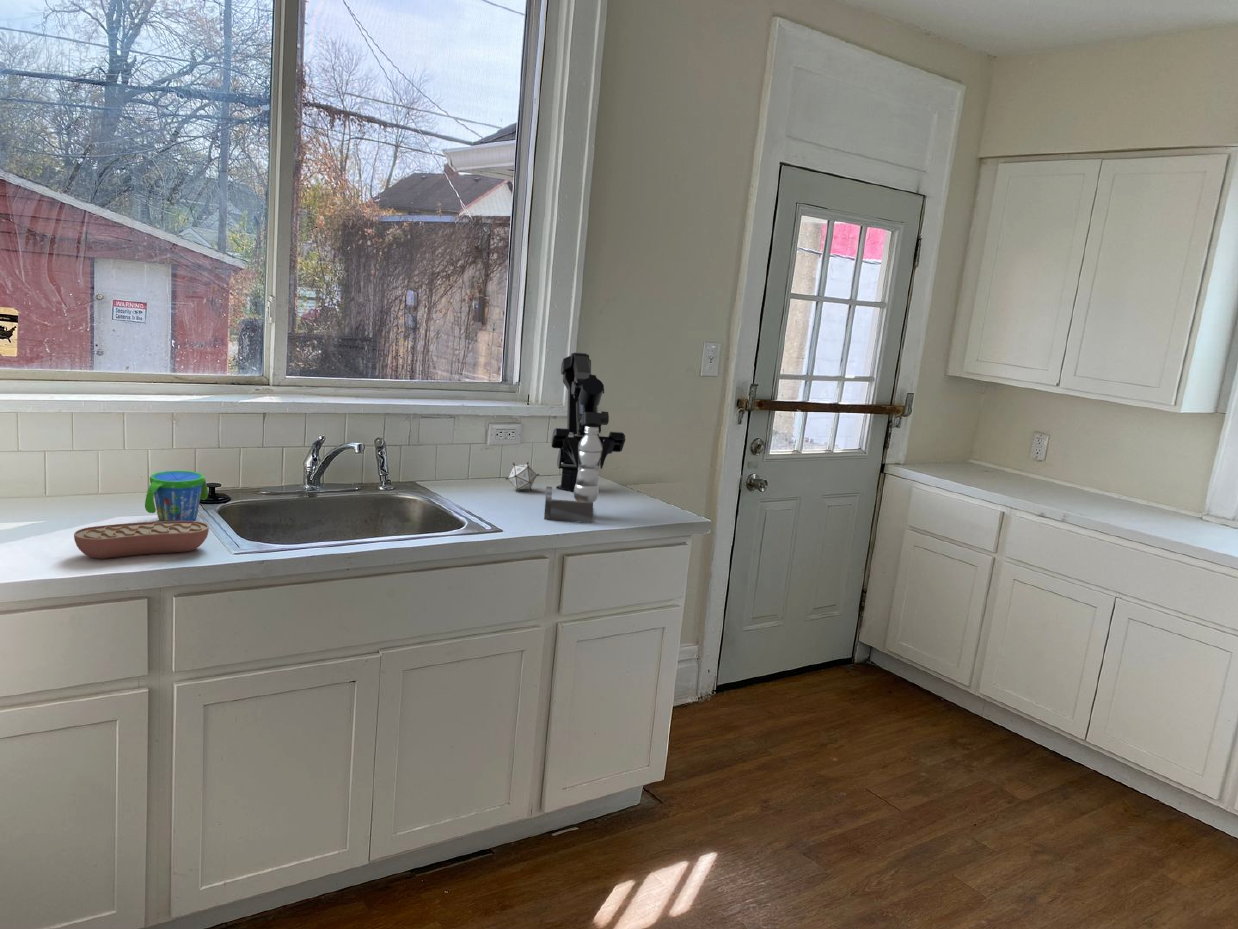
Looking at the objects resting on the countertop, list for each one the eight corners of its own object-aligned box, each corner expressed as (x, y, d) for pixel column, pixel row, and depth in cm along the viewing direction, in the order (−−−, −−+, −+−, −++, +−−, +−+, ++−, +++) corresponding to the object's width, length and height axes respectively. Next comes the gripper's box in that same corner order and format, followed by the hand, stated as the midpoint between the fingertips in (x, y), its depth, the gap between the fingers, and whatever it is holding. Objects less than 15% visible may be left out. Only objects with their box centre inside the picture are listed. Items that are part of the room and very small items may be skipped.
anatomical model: (76, 567, 162) (76, 540, 161) (72, 552, 170) (71, 526, 169) (213, 555, 176) (213, 531, 175) (202, 541, 183) (202, 518, 183)
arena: (545, 504, 241) (546, 486, 240) (589, 507, 242) (591, 489, 241) (544, 519, 225) (545, 500, 224) (591, 522, 226) (593, 503, 225)
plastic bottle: (567, 501, 231) (573, 425, 227) (583, 497, 237) (589, 423, 233) (587, 506, 228) (594, 429, 224) (603, 502, 233) (609, 427, 229)
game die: (514, 503, 255) (494, 474, 252) (527, 488, 262) (508, 460, 259) (536, 493, 250) (516, 464, 247) (549, 478, 256) (530, 450, 254)
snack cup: (163, 532, 186) (163, 485, 185) (128, 523, 190) (127, 476, 189) (224, 518, 201) (224, 474, 199) (189, 510, 205) (190, 466, 203)
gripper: (556, 397, 229) (557, 447, 221) (627, 402, 233) (631, 452, 224) (550, 422, 238) (551, 471, 230) (619, 426, 242) (622, 475, 233)
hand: (589, 467), depth 229 cm, fingers closed on plastic bottle, 6 cm apart
